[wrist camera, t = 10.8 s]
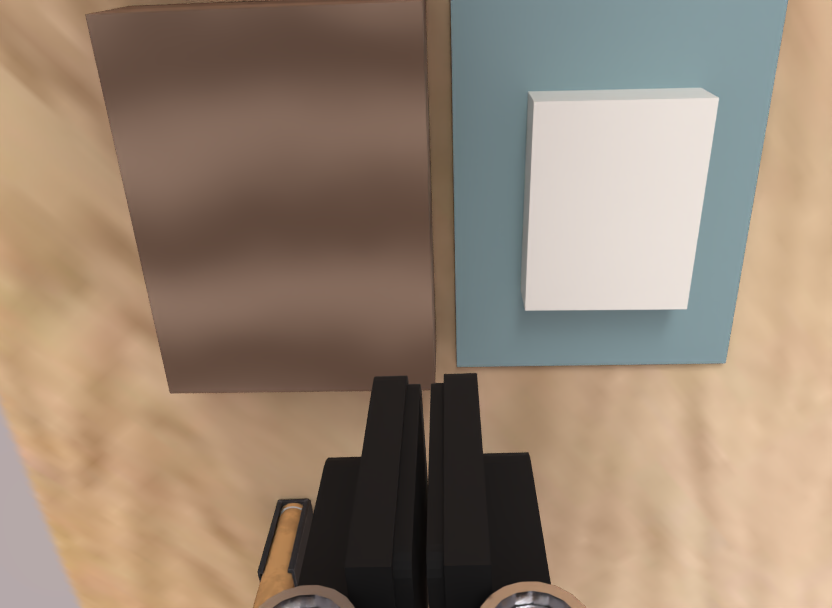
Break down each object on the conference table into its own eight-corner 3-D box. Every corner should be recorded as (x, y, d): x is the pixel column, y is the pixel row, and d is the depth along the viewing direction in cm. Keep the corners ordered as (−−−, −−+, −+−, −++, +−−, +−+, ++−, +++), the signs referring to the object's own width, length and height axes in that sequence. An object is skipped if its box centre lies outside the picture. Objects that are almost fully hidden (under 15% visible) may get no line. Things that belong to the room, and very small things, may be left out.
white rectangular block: (719, 98, 28) (701, 87, 30) (533, 101, 28) (528, 91, 30) (686, 309, 32) (672, 287, 34) (524, 310, 32) (520, 289, 34)
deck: (129, 6, 29) (85, 14, 26) (425, -6, 29) (422, 1, 25) (197, 349, 37) (170, 393, 33) (436, 345, 36) (434, 389, 32)
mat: (449, -93, 27) (449, -94, 27) (802, -110, 27) (807, -111, 26) (456, 362, 36) (456, 366, 36) (722, 358, 36) (725, 363, 35)
